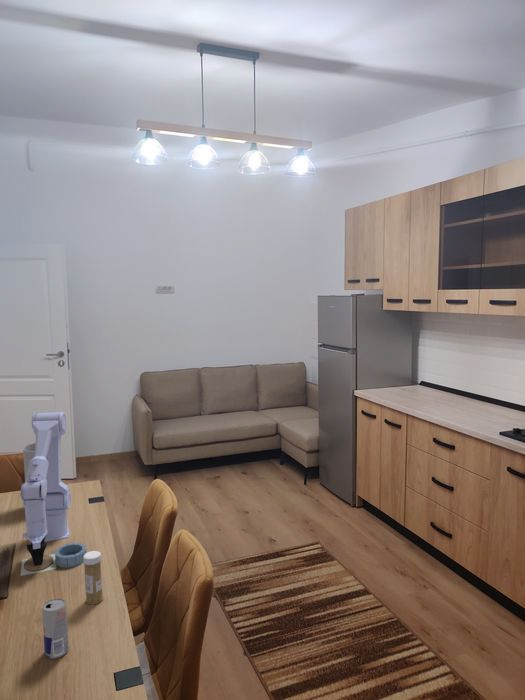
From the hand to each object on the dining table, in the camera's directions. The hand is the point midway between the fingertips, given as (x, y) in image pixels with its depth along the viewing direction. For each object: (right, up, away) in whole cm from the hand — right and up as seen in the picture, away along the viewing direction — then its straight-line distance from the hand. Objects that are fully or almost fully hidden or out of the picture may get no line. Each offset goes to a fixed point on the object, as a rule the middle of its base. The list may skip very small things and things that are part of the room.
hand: (38, 560), depth 163 cm
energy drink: (+21, -7, -38) cm, 44 cm away
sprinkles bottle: (+23, -4, -18) cm, 30 cm away
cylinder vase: (-16, +3, +42) cm, 45 cm away
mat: (0, -2, 0) cm, 2 cm away
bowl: (+9, -1, +3) cm, 10 cm away
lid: (0, -1, 0) cm, 1 cm away
